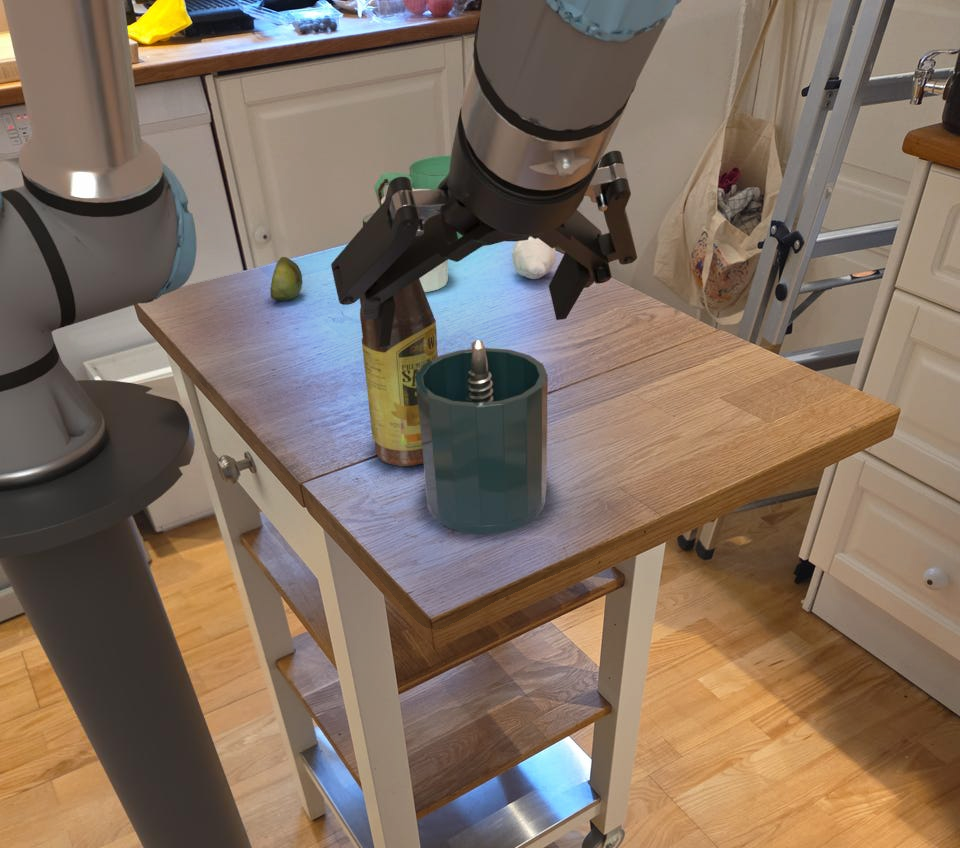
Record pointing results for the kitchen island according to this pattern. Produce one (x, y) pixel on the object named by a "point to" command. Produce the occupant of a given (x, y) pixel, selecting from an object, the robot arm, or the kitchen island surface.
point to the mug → (419, 175)
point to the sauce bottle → (398, 375)
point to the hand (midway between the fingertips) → (470, 315)
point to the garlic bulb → (533, 258)
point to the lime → (286, 280)
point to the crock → (484, 442)
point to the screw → (480, 375)
